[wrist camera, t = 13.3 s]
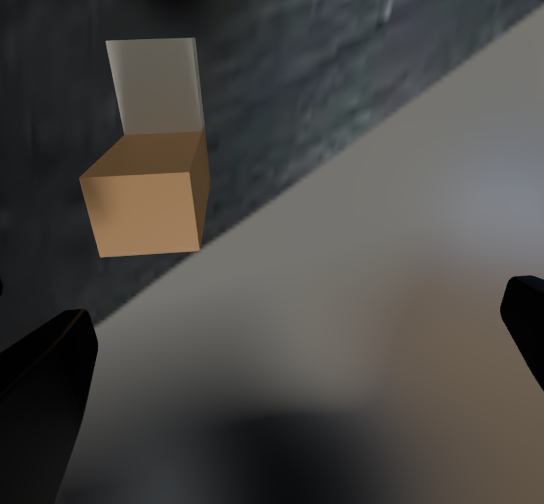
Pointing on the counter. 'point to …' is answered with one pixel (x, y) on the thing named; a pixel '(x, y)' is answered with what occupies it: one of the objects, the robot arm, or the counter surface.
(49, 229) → the counter surface
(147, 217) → the tan and grey l-block
